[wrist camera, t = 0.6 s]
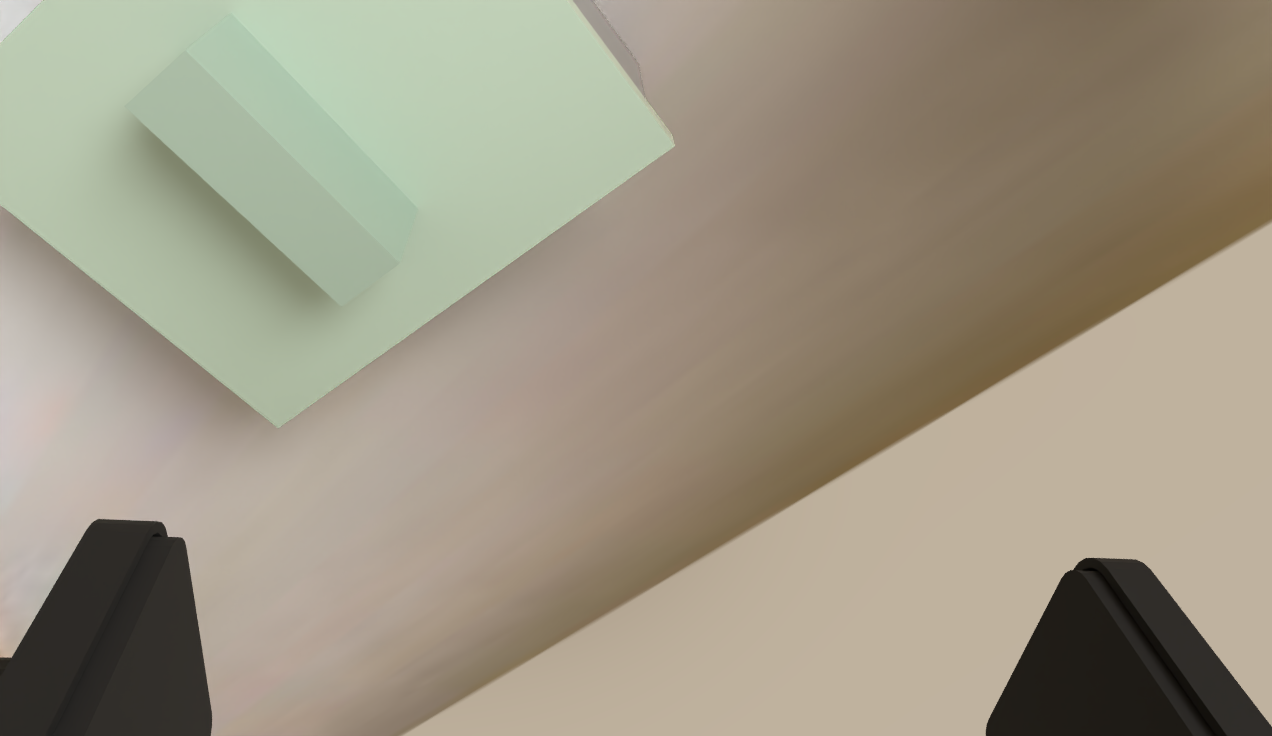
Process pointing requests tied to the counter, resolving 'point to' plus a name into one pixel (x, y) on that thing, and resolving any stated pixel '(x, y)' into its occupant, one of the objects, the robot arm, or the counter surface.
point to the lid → (307, 164)
